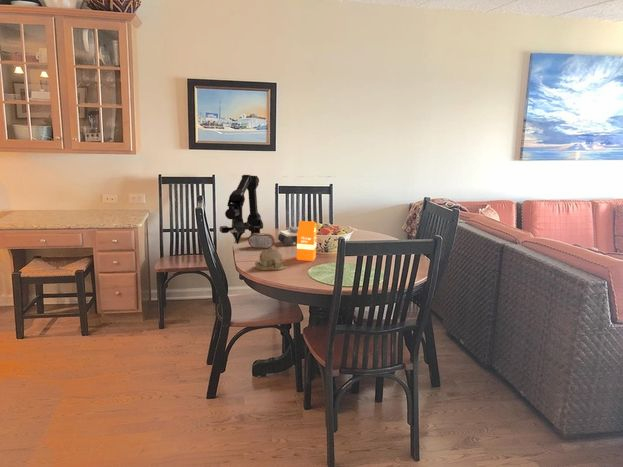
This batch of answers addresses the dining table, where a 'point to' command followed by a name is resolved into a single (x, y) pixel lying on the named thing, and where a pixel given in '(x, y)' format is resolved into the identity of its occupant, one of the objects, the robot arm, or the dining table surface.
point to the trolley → (288, 236)
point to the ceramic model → (270, 260)
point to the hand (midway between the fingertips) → (237, 243)
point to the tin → (261, 240)
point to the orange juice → (306, 241)
